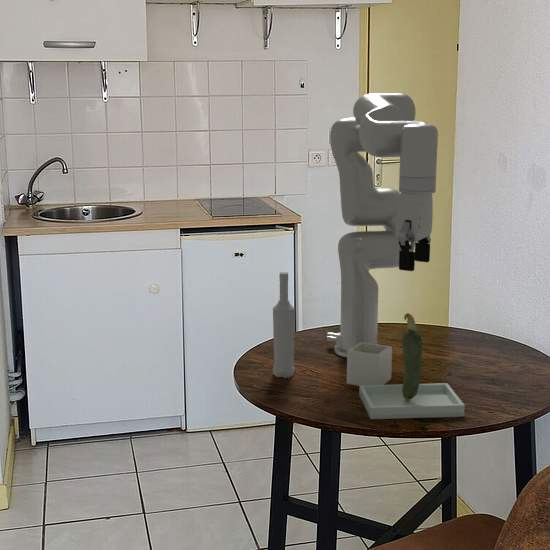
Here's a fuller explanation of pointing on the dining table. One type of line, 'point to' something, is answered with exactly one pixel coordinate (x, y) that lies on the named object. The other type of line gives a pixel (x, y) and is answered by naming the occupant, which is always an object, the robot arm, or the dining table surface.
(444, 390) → the tray
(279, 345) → the bottle
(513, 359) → the dining table surface
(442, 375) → the dining table surface
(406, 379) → the vegetable
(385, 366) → the grey square open box
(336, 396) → the dining table surface
